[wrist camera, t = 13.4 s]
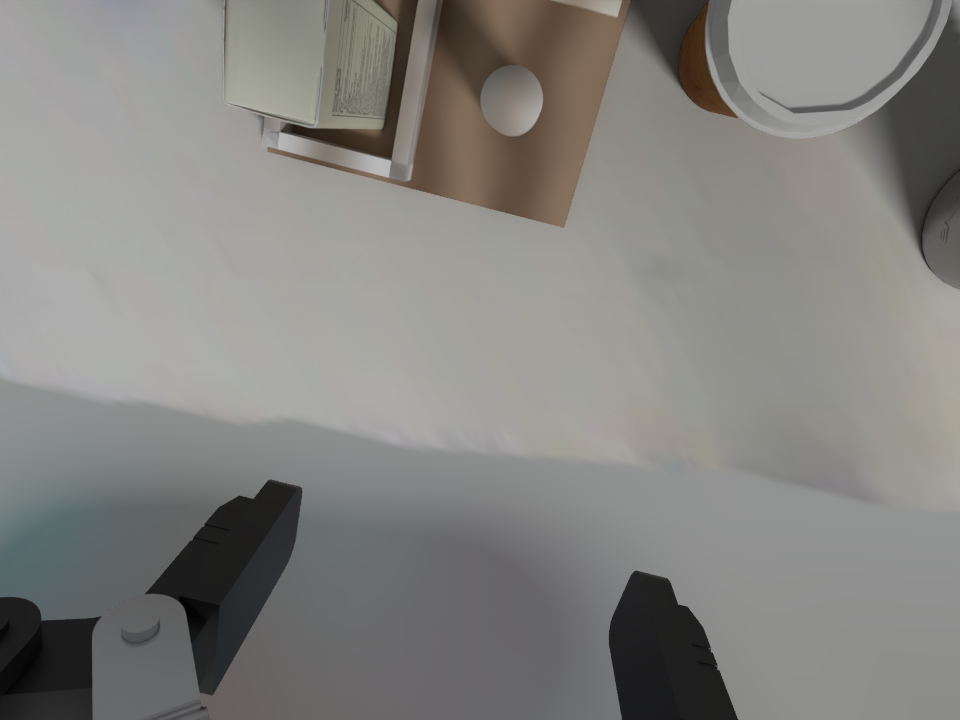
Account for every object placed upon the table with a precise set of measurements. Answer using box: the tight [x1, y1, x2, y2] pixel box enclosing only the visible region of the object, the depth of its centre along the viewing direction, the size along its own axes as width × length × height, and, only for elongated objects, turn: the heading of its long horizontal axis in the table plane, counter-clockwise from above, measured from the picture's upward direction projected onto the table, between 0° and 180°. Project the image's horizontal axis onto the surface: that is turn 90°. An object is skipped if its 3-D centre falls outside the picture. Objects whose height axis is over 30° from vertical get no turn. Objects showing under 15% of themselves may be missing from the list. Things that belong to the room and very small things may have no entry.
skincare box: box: [222, 0, 397, 129], centre depth 28 cm, size 6×4×12 cm
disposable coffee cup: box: [678, 0, 953, 138], centre depth 27 cm, size 10×10×12 cm
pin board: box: [262, 0, 631, 228], centre depth 29 cm, size 20×20×10 cm
